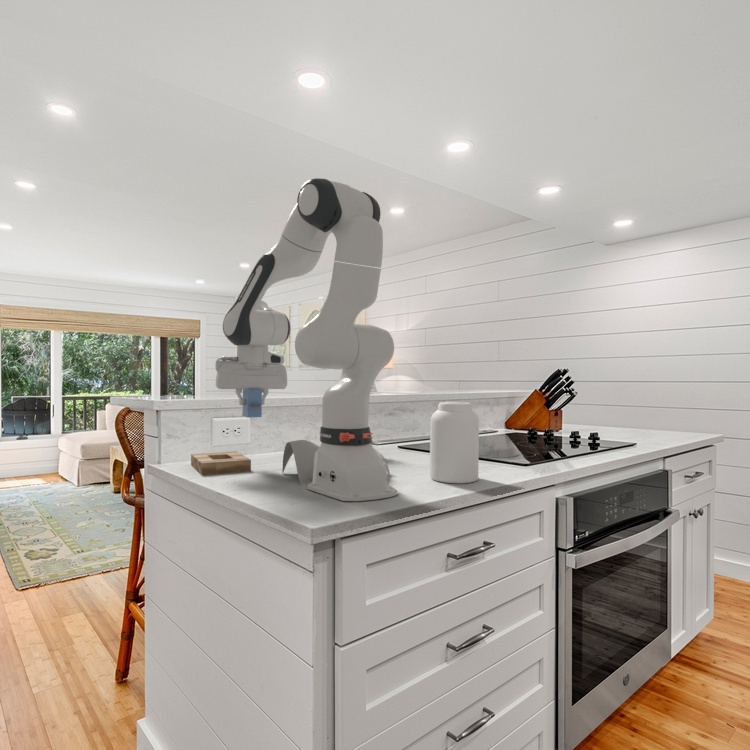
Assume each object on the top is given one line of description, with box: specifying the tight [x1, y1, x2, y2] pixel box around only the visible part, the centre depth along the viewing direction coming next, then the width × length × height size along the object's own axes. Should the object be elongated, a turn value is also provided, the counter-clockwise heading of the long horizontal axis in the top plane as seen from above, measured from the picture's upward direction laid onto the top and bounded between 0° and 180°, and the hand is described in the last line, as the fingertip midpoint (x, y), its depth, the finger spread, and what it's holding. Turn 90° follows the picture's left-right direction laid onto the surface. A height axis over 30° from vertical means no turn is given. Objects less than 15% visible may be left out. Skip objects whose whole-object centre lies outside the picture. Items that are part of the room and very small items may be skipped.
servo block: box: [242, 389, 263, 419], centre depth 149 cm, size 9×4×8 cm, turn 28°
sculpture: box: [281, 439, 391, 485], centre depth 138 cm, size 25×19×10 cm
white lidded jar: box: [429, 401, 480, 485], centre depth 133 cm, size 12×12×20 cm
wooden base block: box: [190, 450, 252, 475], centre depth 145 cm, size 16×13×3 cm
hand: (251, 404), depth 149 cm, fingers closed on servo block, 4 cm apart
